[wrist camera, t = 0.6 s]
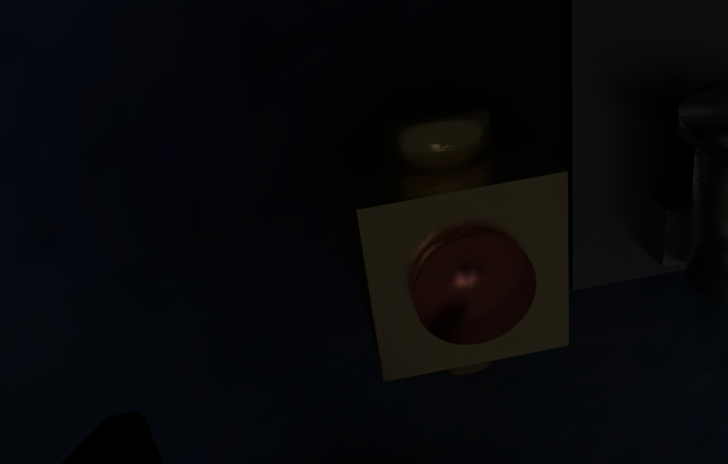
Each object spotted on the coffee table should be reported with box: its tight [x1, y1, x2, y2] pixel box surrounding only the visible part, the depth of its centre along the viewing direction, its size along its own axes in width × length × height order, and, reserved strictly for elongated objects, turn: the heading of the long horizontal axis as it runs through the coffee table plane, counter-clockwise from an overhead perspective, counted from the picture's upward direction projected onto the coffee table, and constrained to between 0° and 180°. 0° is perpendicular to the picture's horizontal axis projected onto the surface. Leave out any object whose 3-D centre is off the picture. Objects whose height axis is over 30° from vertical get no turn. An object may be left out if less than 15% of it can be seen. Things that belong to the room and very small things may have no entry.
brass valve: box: [336, 94, 569, 382], centre depth 19 cm, size 7×5×6 cm
